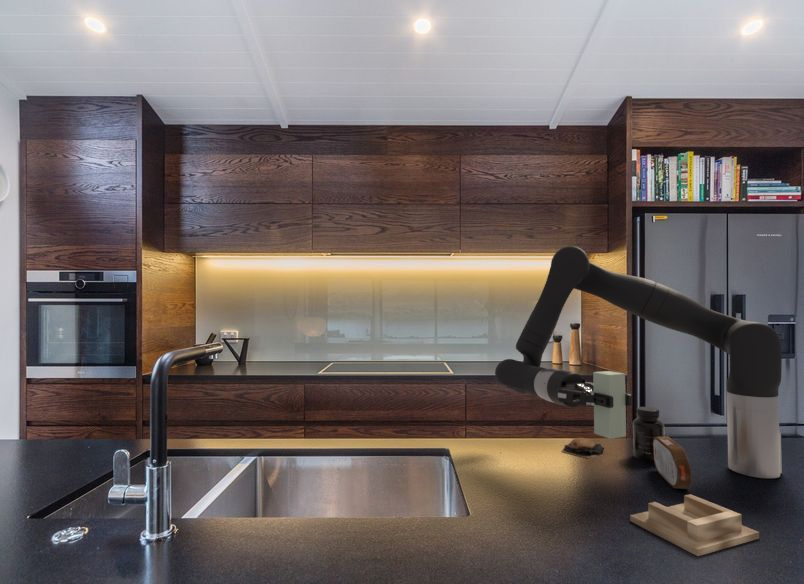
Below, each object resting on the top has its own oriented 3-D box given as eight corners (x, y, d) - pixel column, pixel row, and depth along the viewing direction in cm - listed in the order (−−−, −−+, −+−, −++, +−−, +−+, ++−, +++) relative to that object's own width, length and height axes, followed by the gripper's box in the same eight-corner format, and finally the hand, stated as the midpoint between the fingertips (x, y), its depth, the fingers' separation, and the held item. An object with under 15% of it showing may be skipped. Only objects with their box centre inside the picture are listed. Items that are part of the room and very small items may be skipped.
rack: (687, 507, 85) (687, 488, 85) (759, 538, 73) (758, 516, 74) (630, 521, 79) (630, 500, 79) (697, 556, 68) (697, 532, 68)
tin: (693, 496, 90) (692, 452, 90) (675, 495, 91) (675, 451, 91) (666, 469, 105) (665, 431, 105) (650, 468, 105) (650, 431, 106)
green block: (609, 431, 93) (608, 371, 93) (626, 436, 89) (625, 373, 89) (594, 433, 91) (593, 372, 92) (610, 438, 88) (609, 375, 88)
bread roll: (590, 462, 111) (589, 446, 111) (557, 453, 118) (557, 439, 118) (609, 452, 118) (609, 438, 118) (578, 445, 125) (578, 431, 125)
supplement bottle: (635, 452, 117) (635, 404, 117) (667, 457, 113) (666, 407, 113) (630, 460, 111) (630, 409, 111) (663, 465, 107) (662, 413, 107)
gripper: (532, 371, 101) (591, 384, 85) (584, 368, 106) (648, 379, 91) (533, 406, 101) (592, 425, 85) (584, 401, 106) (649, 417, 90)
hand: (621, 401), depth 88 cm, fingers closed on green block, 4 cm apart
